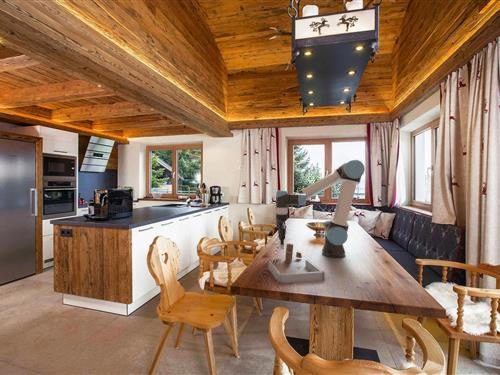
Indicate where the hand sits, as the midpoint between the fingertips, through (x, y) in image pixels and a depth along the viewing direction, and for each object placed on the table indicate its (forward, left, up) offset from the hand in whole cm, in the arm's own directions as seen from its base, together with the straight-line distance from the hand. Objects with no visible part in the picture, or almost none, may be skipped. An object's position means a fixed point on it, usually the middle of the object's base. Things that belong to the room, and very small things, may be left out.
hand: (281, 249), depth 167 cm
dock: (+2, +30, -5) cm, 31 cm away
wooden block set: (-3, +10, -6) cm, 12 cm away
